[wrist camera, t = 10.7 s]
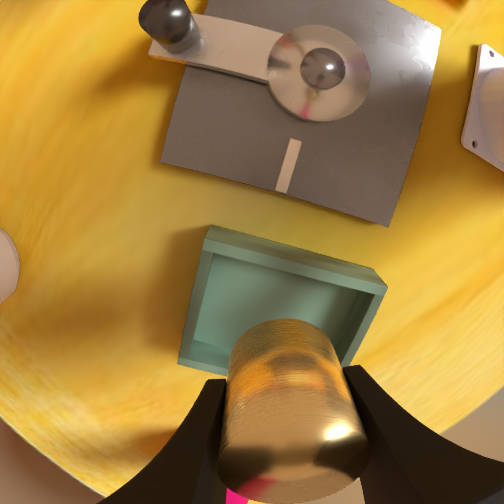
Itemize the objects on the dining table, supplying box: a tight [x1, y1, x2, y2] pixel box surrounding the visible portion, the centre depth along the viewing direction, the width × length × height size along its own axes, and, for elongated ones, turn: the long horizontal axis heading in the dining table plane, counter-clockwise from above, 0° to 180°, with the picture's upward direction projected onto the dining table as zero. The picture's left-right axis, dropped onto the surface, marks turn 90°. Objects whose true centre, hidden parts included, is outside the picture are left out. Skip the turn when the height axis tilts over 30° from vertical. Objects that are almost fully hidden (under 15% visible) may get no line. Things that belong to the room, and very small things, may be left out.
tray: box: [177, 225, 388, 376], centre depth 19 cm, size 10×8×3 cm
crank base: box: [160, 0, 441, 227], centre depth 15 cm, size 13×13×1 cm
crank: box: [139, 0, 371, 122], centre depth 12 cm, size 11×5×4 cm, turn 73°
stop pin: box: [217, 318, 371, 504], centre depth 9 cm, size 4×4×5 cm
